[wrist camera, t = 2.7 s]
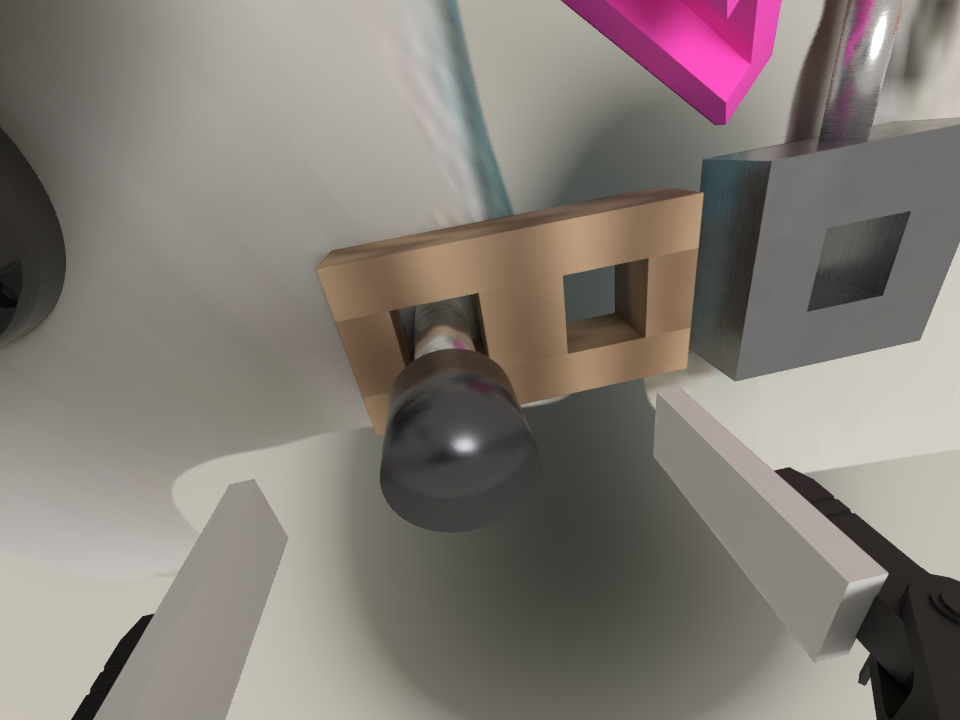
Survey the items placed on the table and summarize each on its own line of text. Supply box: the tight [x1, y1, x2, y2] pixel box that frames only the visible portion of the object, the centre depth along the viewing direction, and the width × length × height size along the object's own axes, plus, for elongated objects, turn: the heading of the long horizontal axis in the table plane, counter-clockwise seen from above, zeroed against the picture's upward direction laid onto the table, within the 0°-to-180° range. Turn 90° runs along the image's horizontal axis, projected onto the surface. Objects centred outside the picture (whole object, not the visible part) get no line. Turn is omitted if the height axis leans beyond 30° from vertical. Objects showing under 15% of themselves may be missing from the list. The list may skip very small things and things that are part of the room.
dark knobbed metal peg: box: [380, 298, 541, 532], centre depth 19 cm, size 5×5×14 cm
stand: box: [316, 187, 704, 436], centre depth 23 cm, size 19×10×4 cm, turn 99°
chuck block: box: [689, 0, 960, 381], centre depth 22 cm, size 12×20×5 cm, turn 9°
